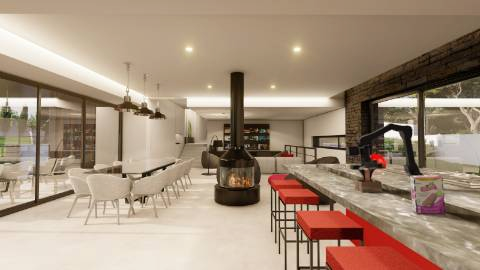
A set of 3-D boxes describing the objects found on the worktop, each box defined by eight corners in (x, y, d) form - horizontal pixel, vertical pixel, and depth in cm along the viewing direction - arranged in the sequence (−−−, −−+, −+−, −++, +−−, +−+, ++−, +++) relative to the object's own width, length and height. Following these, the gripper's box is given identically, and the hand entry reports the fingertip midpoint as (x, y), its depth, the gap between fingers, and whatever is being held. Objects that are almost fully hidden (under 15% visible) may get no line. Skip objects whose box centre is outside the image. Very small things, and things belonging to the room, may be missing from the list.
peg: (365, 182, 167) (364, 169, 167) (371, 182, 165) (369, 170, 165) (364, 182, 165) (363, 170, 165) (369, 183, 163) (368, 170, 163)
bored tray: (355, 188, 171) (354, 179, 171) (373, 187, 170) (372, 178, 170) (362, 192, 159) (361, 182, 159) (382, 191, 158) (381, 181, 158)
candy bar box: (416, 214, 112) (413, 177, 113) (412, 211, 117) (409, 175, 117) (446, 214, 109) (442, 176, 110) (440, 211, 114) (437, 174, 114)
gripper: (354, 157, 158) (357, 182, 158) (386, 155, 156) (388, 180, 156) (348, 156, 169) (350, 179, 169) (377, 154, 168) (380, 177, 167)
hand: (367, 179), depth 165 cm, fingers closed on peg, 3 cm apart
